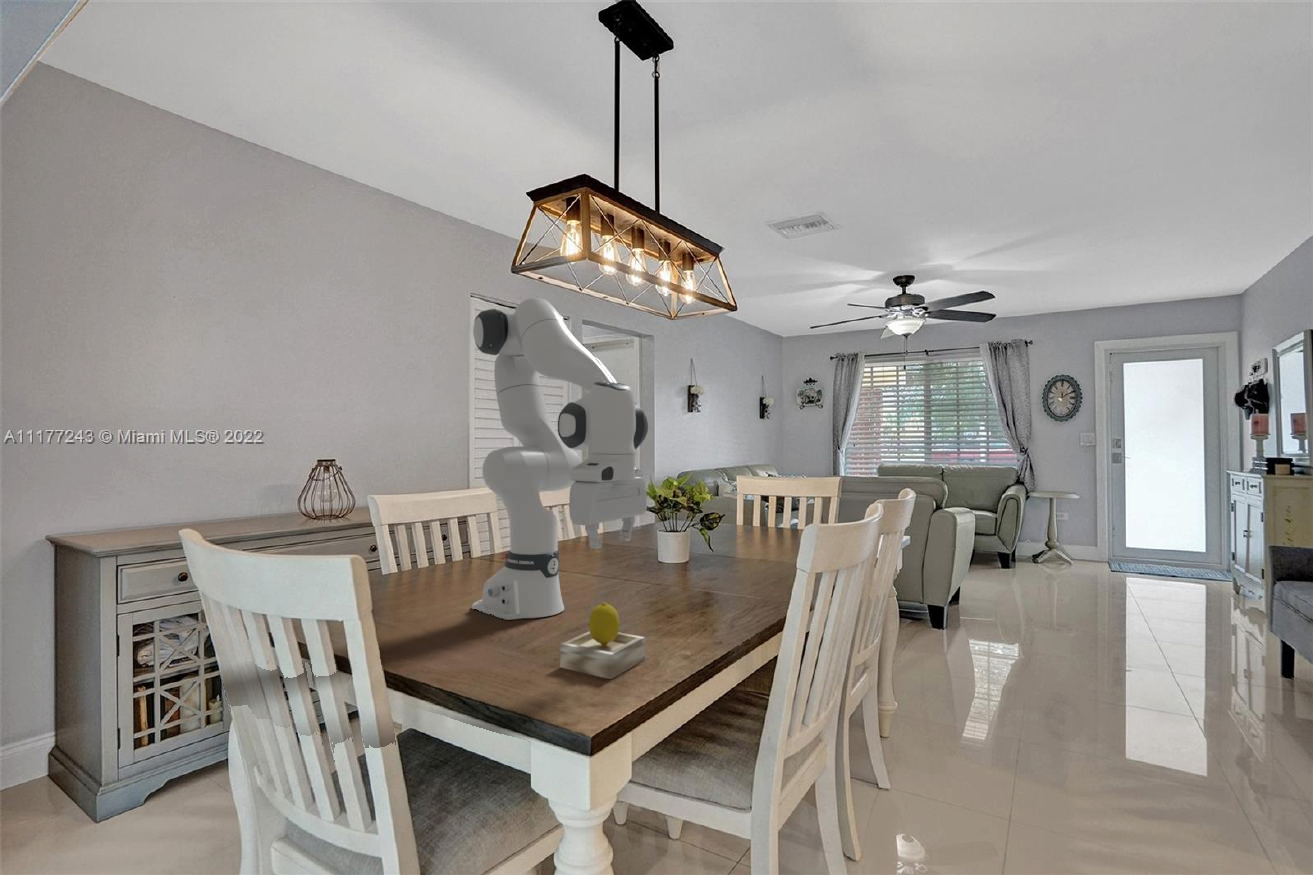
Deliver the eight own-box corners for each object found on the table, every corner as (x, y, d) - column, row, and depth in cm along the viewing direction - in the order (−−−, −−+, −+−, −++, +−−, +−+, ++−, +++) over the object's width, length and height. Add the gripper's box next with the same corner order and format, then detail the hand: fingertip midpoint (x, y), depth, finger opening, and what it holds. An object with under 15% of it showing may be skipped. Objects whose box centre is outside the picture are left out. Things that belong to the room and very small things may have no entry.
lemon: (619, 641, 119) (619, 598, 119) (619, 651, 113) (619, 606, 113) (589, 641, 119) (590, 598, 119) (588, 651, 113) (588, 606, 113)
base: (560, 667, 114) (560, 643, 114) (596, 649, 123) (596, 628, 123) (611, 679, 108) (611, 654, 108) (644, 659, 117) (644, 637, 117)
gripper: (628, 466, 128) (627, 535, 128) (563, 471, 110) (562, 550, 110) (655, 467, 124) (654, 537, 125) (592, 472, 107) (591, 554, 107)
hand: (610, 544), depth 117 cm, fingers open, 8 cm apart
